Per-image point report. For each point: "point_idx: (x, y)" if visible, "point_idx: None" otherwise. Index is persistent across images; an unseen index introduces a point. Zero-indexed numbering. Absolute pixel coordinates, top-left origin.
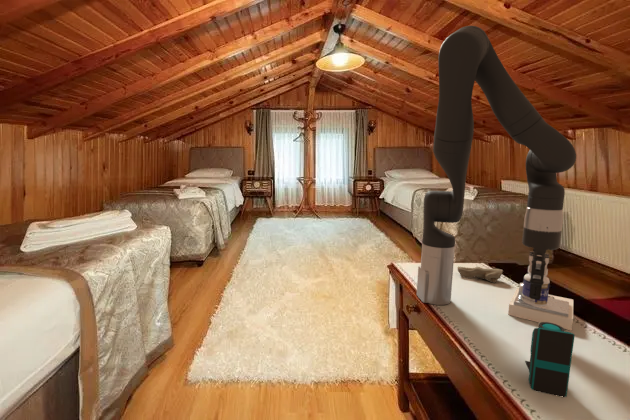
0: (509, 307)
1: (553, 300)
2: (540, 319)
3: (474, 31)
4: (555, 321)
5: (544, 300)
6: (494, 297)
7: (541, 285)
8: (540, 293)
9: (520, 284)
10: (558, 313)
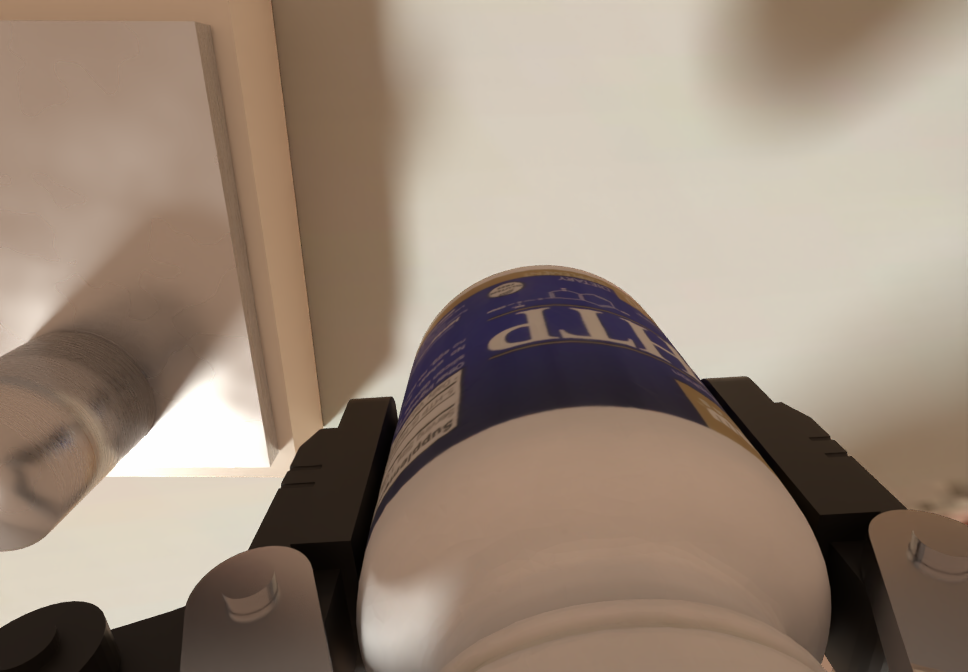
0: None
1: None
2: (291, 239)
3: None
4: (272, 131)
5: (646, 315)
6: (61, 536)
7: (876, 512)
8: (787, 421)
9: (36, 542)
10: (217, 117)
